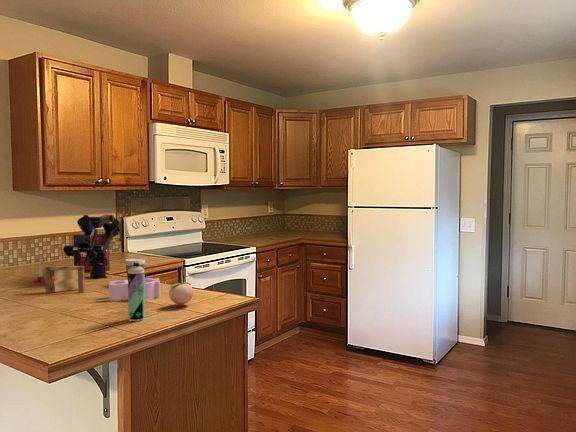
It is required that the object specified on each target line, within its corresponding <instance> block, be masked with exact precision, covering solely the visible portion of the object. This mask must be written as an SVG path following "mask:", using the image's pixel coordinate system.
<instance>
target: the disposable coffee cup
mask: <svg viewBox="0 0 576 432" xmlns="http://www.w3.org/2000/svg"><path fill="white" fill-rule="evenodd" d="M134 262H139V265H140V267H142V268H144V269H145V265H146V262H147V261H146V260H145V258H142V257H141V258H140V257H139V258H138V257H137V258H136V257H135V258H134V257H133V258H127V259H125V261H124V265H125V269H126V271H125V272H126V276H127V277H126V278H127V280H128V269H130V268H131V267H132V266H133V265H134Z"/></svg>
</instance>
